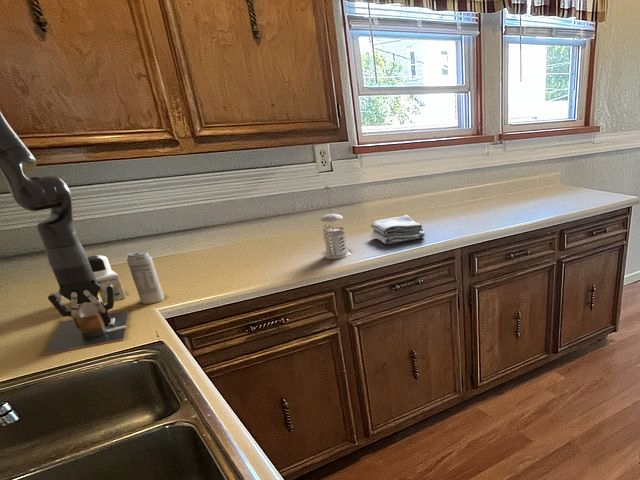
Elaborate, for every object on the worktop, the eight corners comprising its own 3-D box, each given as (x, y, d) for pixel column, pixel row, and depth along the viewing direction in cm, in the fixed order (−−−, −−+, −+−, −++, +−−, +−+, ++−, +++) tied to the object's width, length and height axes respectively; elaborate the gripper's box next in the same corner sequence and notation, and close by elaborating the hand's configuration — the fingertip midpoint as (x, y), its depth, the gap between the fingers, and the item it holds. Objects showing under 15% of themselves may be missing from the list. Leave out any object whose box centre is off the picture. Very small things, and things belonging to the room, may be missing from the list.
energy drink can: (168, 298, 156) (152, 249, 149) (160, 305, 151) (144, 255, 144) (147, 300, 155) (130, 251, 149) (138, 307, 150) (120, 256, 143)
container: (97, 305, 152) (80, 262, 146) (90, 299, 157) (74, 257, 151) (126, 298, 157) (112, 256, 151) (119, 293, 162) (104, 252, 156)
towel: (371, 238, 216) (368, 219, 213) (410, 232, 225) (409, 213, 221) (385, 246, 205) (383, 226, 201) (426, 238, 213) (425, 219, 210)
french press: (354, 251, 198) (345, 183, 187) (342, 260, 188) (331, 189, 177) (330, 251, 200) (320, 183, 188) (317, 259, 190) (305, 189, 178)
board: (45, 358, 121) (43, 355, 121) (61, 324, 140) (59, 321, 140) (124, 343, 128) (123, 339, 127) (129, 312, 147) (128, 309, 146)
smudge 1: (113, 324, 137) (113, 323, 136) (107, 326, 136) (106, 324, 136) (115, 319, 140) (114, 317, 140) (109, 320, 139) (108, 319, 139)
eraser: (83, 339, 129) (75, 318, 126) (88, 324, 137) (81, 304, 135) (105, 335, 131) (97, 314, 128) (108, 320, 139) (101, 301, 137)
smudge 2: (107, 333, 132) (106, 331, 132) (106, 331, 133) (105, 330, 133) (126, 328, 134) (126, 326, 134) (125, 326, 135) (125, 325, 135)
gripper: (105, 254, 132) (128, 316, 140) (36, 264, 126) (64, 328, 134) (103, 262, 126) (126, 326, 134) (30, 271, 120) (59, 338, 128)
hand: (95, 326), depth 134 cm, fingers closed on eraser, 4 cm apart
